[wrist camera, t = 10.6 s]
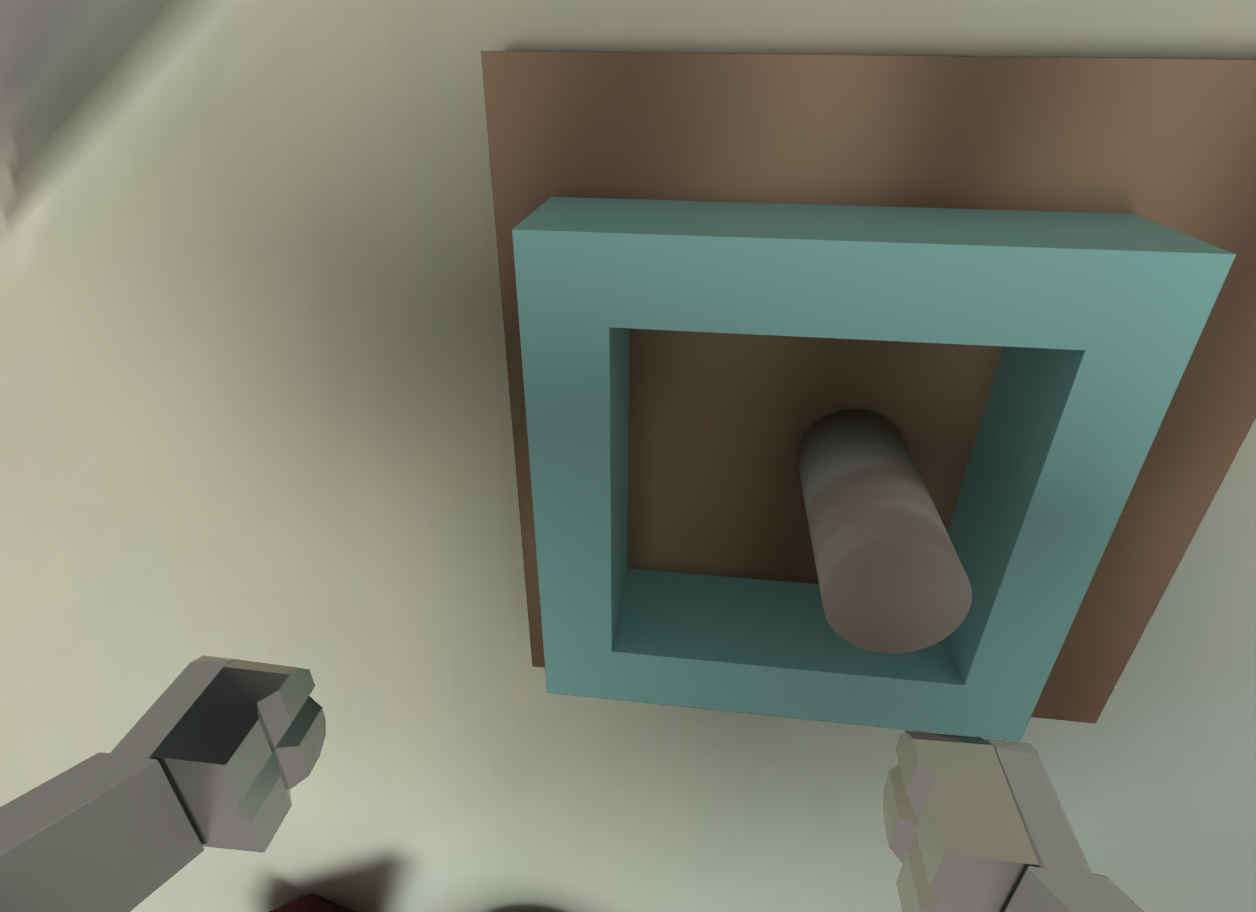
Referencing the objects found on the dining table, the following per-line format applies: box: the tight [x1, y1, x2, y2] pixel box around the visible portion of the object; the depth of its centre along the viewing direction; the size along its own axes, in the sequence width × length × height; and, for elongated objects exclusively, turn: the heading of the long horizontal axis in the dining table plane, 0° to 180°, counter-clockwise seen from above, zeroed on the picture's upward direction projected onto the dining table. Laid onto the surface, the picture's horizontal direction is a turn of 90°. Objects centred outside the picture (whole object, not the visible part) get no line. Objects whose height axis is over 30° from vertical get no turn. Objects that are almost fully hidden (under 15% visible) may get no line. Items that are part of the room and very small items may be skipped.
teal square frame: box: [512, 197, 1236, 741], centre depth 15 cm, size 11×11×3 cm
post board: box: [481, 51, 1256, 723], centre depth 15 cm, size 16×16×6 cm
